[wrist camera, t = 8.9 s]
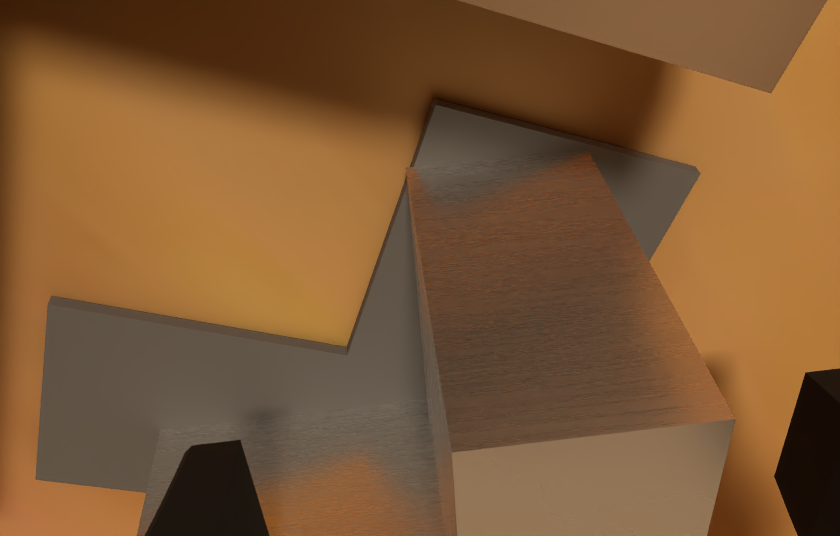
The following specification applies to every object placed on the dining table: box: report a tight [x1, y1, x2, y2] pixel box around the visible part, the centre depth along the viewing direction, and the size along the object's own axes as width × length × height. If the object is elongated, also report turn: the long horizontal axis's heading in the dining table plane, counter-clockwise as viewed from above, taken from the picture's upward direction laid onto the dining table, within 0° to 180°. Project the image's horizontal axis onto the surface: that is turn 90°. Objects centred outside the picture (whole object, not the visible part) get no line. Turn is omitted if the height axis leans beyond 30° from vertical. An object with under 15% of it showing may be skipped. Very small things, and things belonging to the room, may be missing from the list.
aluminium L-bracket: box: [137, 149, 735, 536], centre depth 11 cm, size 7×7×5 cm
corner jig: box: [458, 0, 827, 93], centre depth 9 cm, size 10×10×4 cm
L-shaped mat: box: [36, 98, 700, 493], centre depth 13 cm, size 8×8×1 cm
